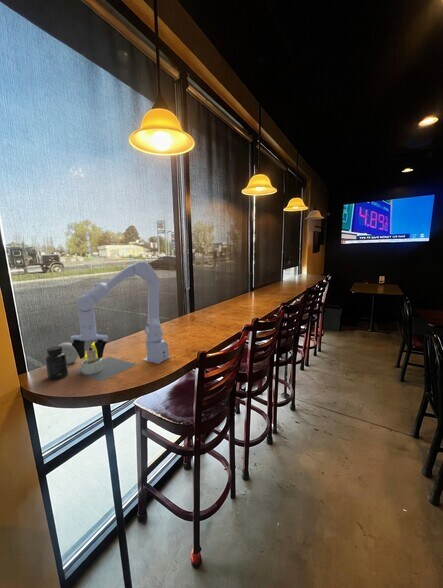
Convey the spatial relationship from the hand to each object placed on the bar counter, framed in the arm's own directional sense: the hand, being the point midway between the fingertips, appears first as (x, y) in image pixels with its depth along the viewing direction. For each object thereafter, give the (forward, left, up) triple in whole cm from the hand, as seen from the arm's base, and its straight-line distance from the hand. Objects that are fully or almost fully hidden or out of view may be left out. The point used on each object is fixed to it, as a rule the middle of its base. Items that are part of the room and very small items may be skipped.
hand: (91, 357), depth 101 cm
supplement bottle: (+7, +10, -6) cm, 13 cm away
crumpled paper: (+13, -9, -6) cm, 17 cm away
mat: (-2, -4, -6) cm, 7 cm away
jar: (0, 0, -5) cm, 5 cm away
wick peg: (0, 0, -5) cm, 5 cm away
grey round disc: (+17, +1, -6) cm, 18 cm away
